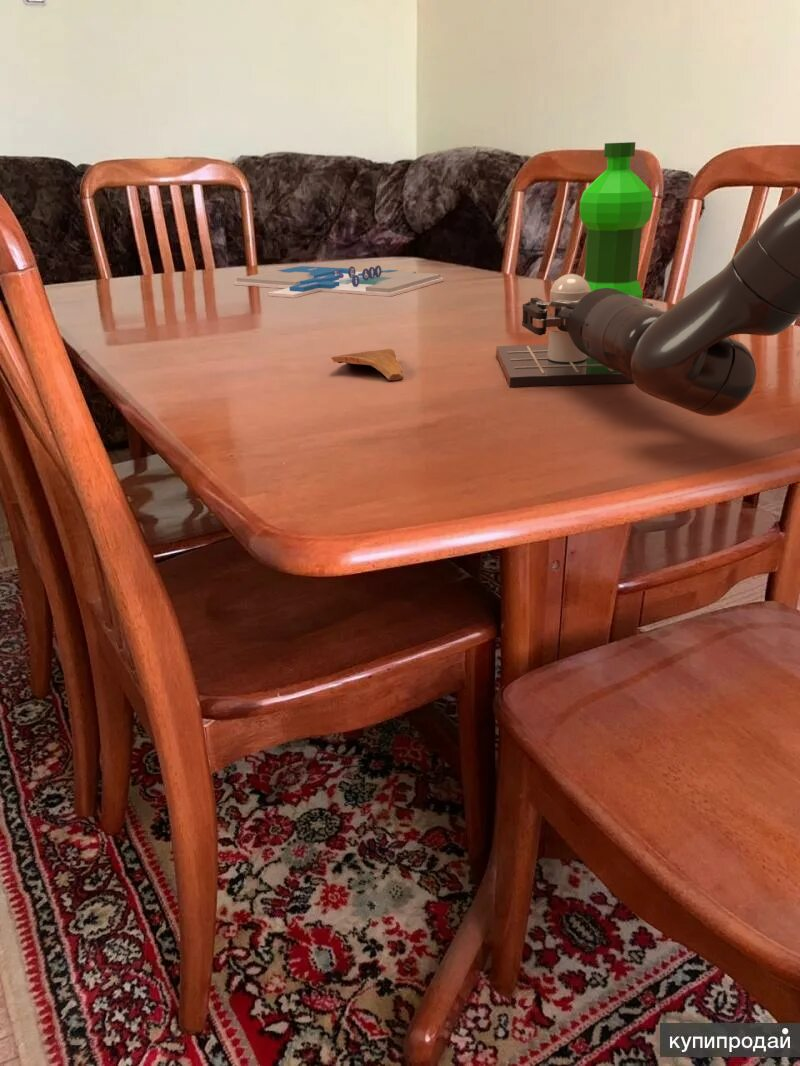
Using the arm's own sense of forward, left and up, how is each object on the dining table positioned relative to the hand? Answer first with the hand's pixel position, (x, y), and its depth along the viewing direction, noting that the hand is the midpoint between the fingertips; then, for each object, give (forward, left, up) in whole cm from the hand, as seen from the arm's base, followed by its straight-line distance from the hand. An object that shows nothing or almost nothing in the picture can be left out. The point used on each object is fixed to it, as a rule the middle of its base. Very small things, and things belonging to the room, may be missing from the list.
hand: (564, 304), depth 102 cm
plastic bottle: (-11, -25, -8) cm, 28 cm away
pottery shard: (+24, 0, -8) cm, 25 cm away
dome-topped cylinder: (0, +2, -6) cm, 6 cm away
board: (0, +2, -7) cm, 8 cm away
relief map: (+36, -72, -8) cm, 81 cm away
